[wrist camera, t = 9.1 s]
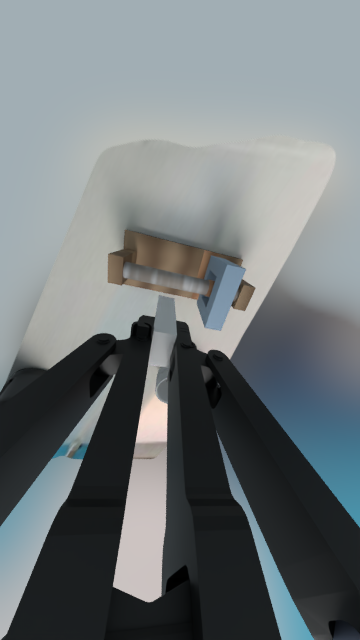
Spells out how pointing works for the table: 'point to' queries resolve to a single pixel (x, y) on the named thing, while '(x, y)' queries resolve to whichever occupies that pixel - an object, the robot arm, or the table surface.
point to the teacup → (162, 384)
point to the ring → (219, 291)
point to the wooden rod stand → (168, 268)
